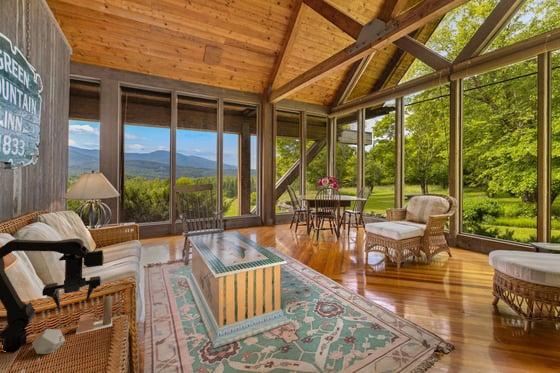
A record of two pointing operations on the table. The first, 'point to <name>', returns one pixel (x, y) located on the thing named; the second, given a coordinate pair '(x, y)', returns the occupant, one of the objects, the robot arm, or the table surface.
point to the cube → (86, 322)
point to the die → (48, 341)
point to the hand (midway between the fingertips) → (73, 305)
